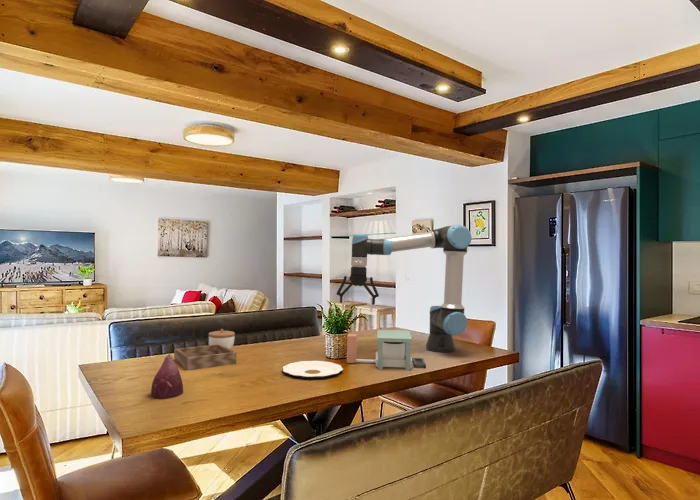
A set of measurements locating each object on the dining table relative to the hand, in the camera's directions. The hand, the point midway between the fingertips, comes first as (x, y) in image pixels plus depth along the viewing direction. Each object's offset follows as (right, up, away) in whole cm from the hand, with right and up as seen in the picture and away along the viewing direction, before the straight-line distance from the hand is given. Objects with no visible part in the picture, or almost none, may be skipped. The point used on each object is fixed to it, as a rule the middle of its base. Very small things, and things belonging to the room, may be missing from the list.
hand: (356, 310), depth 218 cm
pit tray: (+28, -23, -11) cm, 38 cm away
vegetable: (-67, -21, -59) cm, 92 cm away
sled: (+10, -22, -10) cm, 26 cm away
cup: (+16, -23, -11) cm, 30 cm away
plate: (-19, -22, -27) cm, 40 cm away
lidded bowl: (-67, -21, +9) cm, 71 cm away
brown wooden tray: (-68, -21, -13) cm, 73 cm away
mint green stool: (+16, -23, -11) cm, 30 cm away
